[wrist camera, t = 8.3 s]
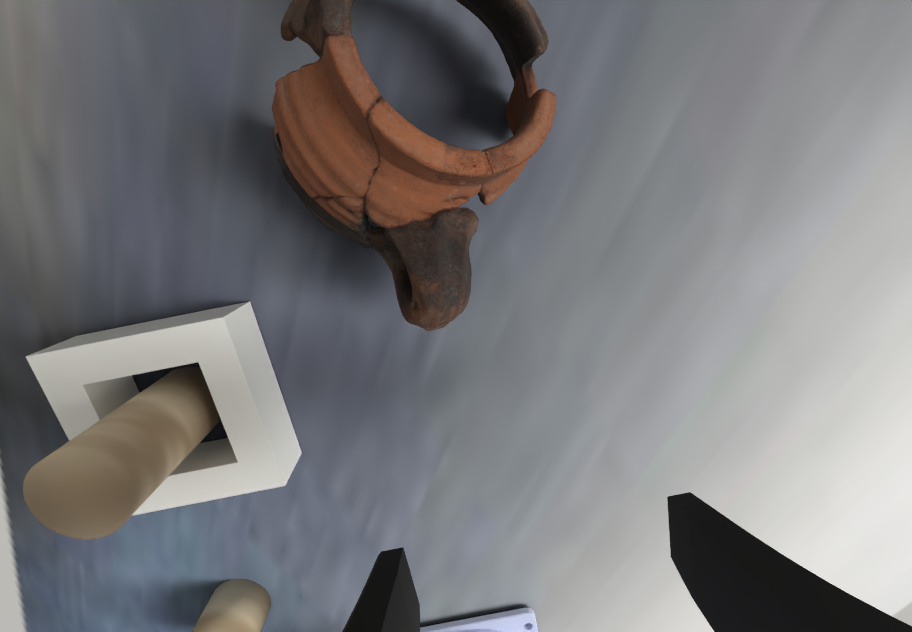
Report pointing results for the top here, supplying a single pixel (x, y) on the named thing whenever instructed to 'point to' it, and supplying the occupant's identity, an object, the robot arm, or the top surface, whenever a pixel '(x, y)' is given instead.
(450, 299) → the pottery mug
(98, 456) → the long pin
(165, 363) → the collar
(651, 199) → the top surface
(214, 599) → the short pin
